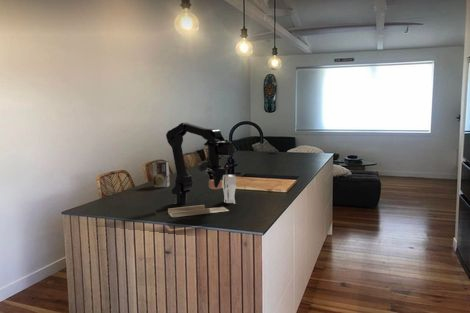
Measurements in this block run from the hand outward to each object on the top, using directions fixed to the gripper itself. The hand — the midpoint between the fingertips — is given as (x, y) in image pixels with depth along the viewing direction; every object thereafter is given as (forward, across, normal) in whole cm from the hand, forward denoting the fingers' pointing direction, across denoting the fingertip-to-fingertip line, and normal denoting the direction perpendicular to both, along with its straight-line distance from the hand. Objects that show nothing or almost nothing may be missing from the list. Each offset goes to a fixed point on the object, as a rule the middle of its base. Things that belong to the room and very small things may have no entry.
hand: (214, 186), depth 191 cm
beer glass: (+12, -10, +12) cm, 20 cm away
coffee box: (+12, -71, -11) cm, 73 cm away
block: (+1, 0, +1) cm, 1 cm away
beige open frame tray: (+12, +3, -9) cm, 15 cm away
